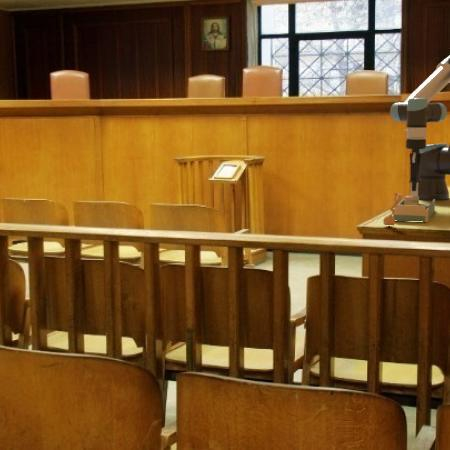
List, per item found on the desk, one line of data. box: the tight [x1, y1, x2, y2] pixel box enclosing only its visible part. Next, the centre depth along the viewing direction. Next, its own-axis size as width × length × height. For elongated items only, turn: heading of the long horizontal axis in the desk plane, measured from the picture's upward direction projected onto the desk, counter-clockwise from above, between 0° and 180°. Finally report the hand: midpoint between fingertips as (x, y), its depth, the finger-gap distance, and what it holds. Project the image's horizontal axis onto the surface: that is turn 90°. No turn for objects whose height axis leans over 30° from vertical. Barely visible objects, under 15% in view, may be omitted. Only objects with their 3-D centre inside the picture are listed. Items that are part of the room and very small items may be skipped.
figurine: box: [383, 191, 403, 226], centre depth 262 cm, size 8×6×12 cm
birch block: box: [403, 195, 420, 206], centre depth 296 cm, size 5×5×3 cm
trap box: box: [392, 198, 436, 223], centre depth 286 cm, size 30×12×6 cm, turn 160°
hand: (413, 199), depth 304 cm, fingers closed
